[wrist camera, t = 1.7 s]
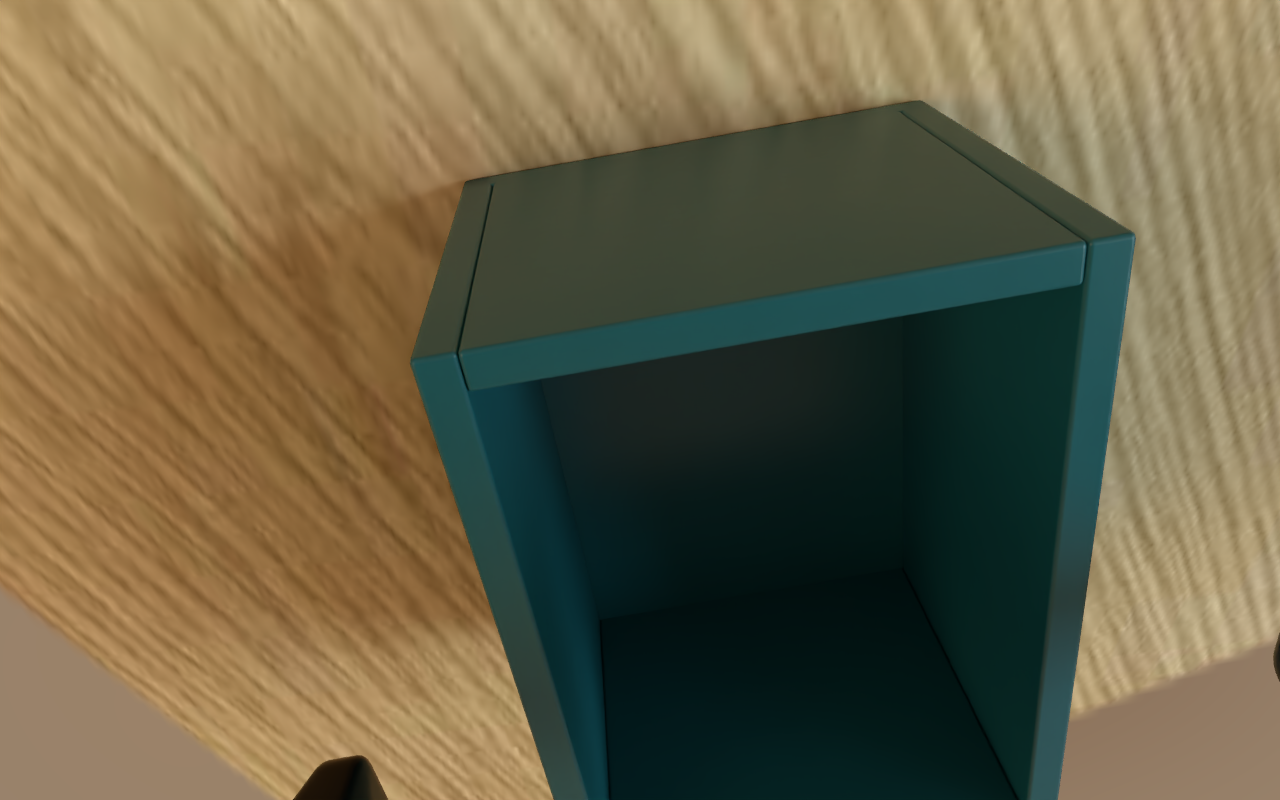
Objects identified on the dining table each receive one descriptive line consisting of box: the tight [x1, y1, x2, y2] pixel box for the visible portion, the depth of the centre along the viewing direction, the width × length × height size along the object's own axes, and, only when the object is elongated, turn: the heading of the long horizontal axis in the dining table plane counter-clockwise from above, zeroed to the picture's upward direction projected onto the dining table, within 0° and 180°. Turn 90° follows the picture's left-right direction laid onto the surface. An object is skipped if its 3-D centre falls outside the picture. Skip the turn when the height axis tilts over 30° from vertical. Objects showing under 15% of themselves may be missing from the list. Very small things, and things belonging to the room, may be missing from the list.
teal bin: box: [410, 100, 1136, 800], centre depth 11 cm, size 6×8×5 cm
